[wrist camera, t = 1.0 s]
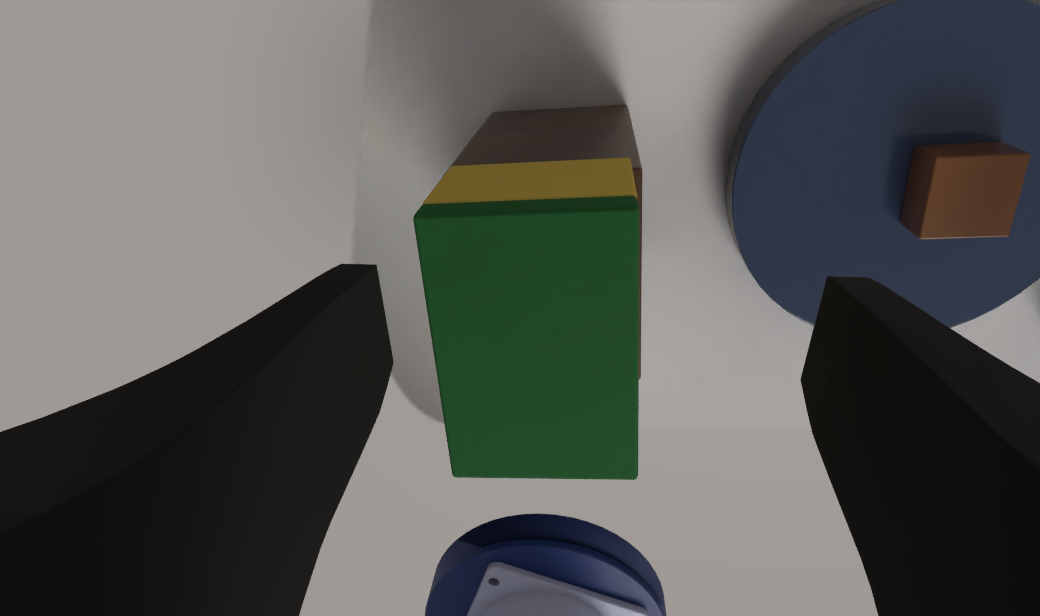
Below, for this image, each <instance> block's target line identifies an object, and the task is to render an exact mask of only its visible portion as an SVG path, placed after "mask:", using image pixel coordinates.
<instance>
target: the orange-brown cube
mask: <svg viewBox="0 0 1040 616" xmlns="http://www.w3.org/2000/svg"><path fill="white" fill-rule="evenodd" d="M1029 159H1030V153H1028V152H1026V151H1023V150H1021V149H1018V148H1016V147H1014V146H1011V145H1009V144H1006V143H1004V142H985V143H964V144H943V145H922V146H915V147H914V151H913V156H912V162H911V167H910V172H909V178H908V183H907V188H906V194H905V199H904V204H903V210H902V215H901V220H900V224H901V225H903V226H904V227H905V228H906V229H907V230H909V231H910V232H911V233H912V234H914V235H915V236H916V237H917V238H918V239H920V240H921V239H954V238H986V237H1008V236H1009V234H1010V230H1011V226H1012V223H1013V219H1014V215H1015V211H1016V208H1017V204H1018V200H1019V196H1020V193H1021V189H1022V185H1023V181H1024V178H1025V174H1026V170H1027V166H1028V163H1029Z"/></svg>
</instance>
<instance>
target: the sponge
mask: <svg viewBox="0 0 1040 616" xmlns="http://www.w3.org/2000/svg"><path fill="white" fill-rule="evenodd" d="M413 220H414V226H415V233H416V240H417V246H418V253H419V259H420V266H421V272H422V279H423V285H424V292H425V298H426V305H427V312H428V318H429V325H430V331H431V338H432V344H433V351H434V357H435V364H436V371H437V377H438V384H439V390H440V397H441V403H442V410H443V416H444V423H445V429H446V436H447V442H448V449H449V455H450V462H451V469H452V474H453V476H454V477H472V478H474V477H476V478H549V479H551V478H552V479H626V480H627V479H628V480H634V479H636V478H637V476H638V369H639V206H638V200H637V193H636V187H635V181H634V176H633V170H632V164H631V160H630V158H608V159H588V160H567V161H546V162H526V163H505V164H484V165H464V166H452V167H450V169H449V170H448V171H447V173H446V174H445V175H444V176H443V178H442V179H441V180H440V182H439V183H438V184H437V185H436V187H435V188H434V189H433V191H432V192H431V193H430V195H429V196H428V197H427V198H426V200H425V201H424V202H423V205H422V206H421V207H420V209H419V210H418V211H417V212H416V214H415V215H414V218H413Z"/></svg>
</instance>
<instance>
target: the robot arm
mask: <svg viewBox="0 0 1040 616" xmlns="http://www.w3.org/2000/svg"><path fill="white" fill-rule="evenodd" d="M392 366H393V357H392V351H391V345H390V340H389V334H388V328H387V322H386V317H385V311H384V305H383V300H382V294H381V288H380V283H379V277H378V271H377V265H365V264H340V265H338V266H336V267H334V268H332V269H330V270H328V271H327V272H325V273H323V274H321V275H320V276H318V277H316V278H315V279H313V280H311V281H310V282H308V283H307V284H305V285H303V286H302V287H300V288H299V289H297V290H296V291H294V292H292V293H291V294H289V295H288V296H286V297H284V298H283V299H281V300H280V301H278V302H276V303H275V304H273V305H272V306H270V307H268V308H267V309H265V310H264V311H262V312H260V313H259V314H257V315H256V316H254V317H253V318H251V319H249V320H247V321H246V322H244V323H243V324H240V325H239V326H237V327H235V328H234V329H232V330H230V331H228V332H227V333H225V334H223V335H221V336H220V337H218V338H216V339H214V340H213V341H211V342H209V343H207V344H206V345H204V346H202V347H200V348H199V349H197V350H195V351H193V352H191V353H189V354H187V355H186V356H184V357H182V358H180V359H178V360H176V361H174V362H172V363H170V364H168V365H166V366H164V367H162V368H160V369H158V370H155V371H153V372H151V373H149V374H147V375H145V376H143V377H140V378H139V379H136V380H134V381H132V382H130V383H127V384H125V385H123V386H121V387H118V388H116V389H114V390H111V391H109V392H106V393H103V394H101V395H99V396H96V397H93V398H91V399H89V400H86V401H83V402H81V403H78V404H76V405H73V406H71V407H68V408H66V409H63V410H60V411H58V412H55V413H53V414H50V415H48V416H45V417H42V418H40V419H37V420H34V421H31V422H28V423H25V424H22V425H19V426H16V427H14V428H11V429H8V430H5V431H2V432H0V616H299V614H300V610H301V607H302V604H303V600H304V597H305V594H306V591H307V588H308V585H309V582H310V579H311V575H312V573H313V569H314V566H315V563H316V560H317V557H318V554H319V551H320V548H321V545H322V543H323V540H324V538H325V535H326V533H327V530H328V528H329V525H330V523H331V520H332V518H333V516H334V514H335V511H336V509H337V507H338V504H339V502H340V500H341V498H342V496H343V493H344V491H345V489H346V487H347V485H348V482H349V480H350V478H351V476H352V474H353V471H354V469H355V467H356V465H357V462H358V460H359V458H360V456H361V454H362V451H363V449H364V447H365V444H366V442H367V440H368V438H369V435H370V433H371V431H372V429H373V426H374V424H375V422H376V419H377V417H378V415H379V412H380V409H381V405H382V402H383V399H384V396H385V392H386V389H387V385H388V381H389V377H390V374H391V370H392ZM801 384H802V388H803V393H804V398H805V403H806V408H807V412H808V416H809V420H810V425H811V429H812V433H813V436H814V439H815V441H816V444H817V447H818V449H819V452H820V454H821V457H822V460H823V462H824V465H825V468H826V470H827V473H828V476H829V478H830V481H831V483H832V486H833V488H834V491H835V494H836V496H837V499H838V501H839V504H840V506H841V509H842V511H843V514H844V516H845V519H846V522H847V524H848V526H849V529H850V532H851V534H852V537H853V539H854V542H855V545H856V547H857V550H858V552H859V555H860V557H861V560H862V563H863V566H864V569H865V572H866V575H867V577H868V580H869V583H870V586H871V590H872V593H873V597H874V601H875V605H876V608H877V612H878V616H1040V383H1038V382H1037V381H1035V380H1033V379H1032V378H1030V377H1028V376H1026V375H1025V374H1023V373H1021V372H1019V371H1018V370H1016V369H1014V368H1012V367H1011V366H1009V365H1007V364H1006V363H1004V362H1003V361H1001V360H999V359H998V358H996V357H994V356H993V355H991V354H990V353H988V352H986V351H985V350H983V349H982V348H980V347H978V346H977V345H975V344H974V343H972V342H970V341H969V340H967V339H966V338H964V337H963V336H961V335H960V334H958V333H957V332H955V331H953V330H952V329H950V328H949V327H947V326H946V325H944V324H943V323H941V322H940V321H938V320H937V319H935V318H934V317H932V316H931V315H929V314H928V313H926V312H924V311H923V310H921V309H920V308H918V307H917V306H915V305H914V304H912V303H911V302H909V301H908V300H906V299H905V298H903V297H901V296H900V295H898V294H897V293H895V292H894V291H892V290H890V289H889V288H887V287H885V286H884V285H882V284H880V283H878V282H877V281H875V280H873V279H871V278H869V277H835V276H827V278H826V282H825V286H824V290H823V294H822V298H821V302H820V306H819V310H818V313H817V317H816V321H815V325H814V329H813V333H812V337H811V341H810V345H809V349H808V353H807V357H806V361H805V365H804V368H803V372H802V376H801ZM492 578H495V579H492ZM467 616H648V613H647V610H646V609H645V608H642V607H640V606H637V605H634V604H631V603H628V602H625V601H621V600H618V599H615V598H612V597H609V596H606V595H602V594H599V593H596V592H593V591H590V590H587V589H584V588H580V587H577V586H574V585H571V584H568V583H565V582H562V581H558V580H555V579H552V578H549V577H546V576H543V575H539V574H536V573H533V572H530V571H527V570H524V569H521V568H517V567H514V566H511V565H508V564H505V563H502V562H492V563H490V564H489V565H488V567H487V569H486V572H485V574H484V576H483V578H482V581H481V583H480V585H479V588H478V590H477V592H476V595H475V597H474V599H473V602H472V604H471V606H470V609H469V611H468V613H467Z"/></svg>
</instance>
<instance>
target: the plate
mask: <svg viewBox="0 0 1040 616" xmlns="http://www.w3.org/2000/svg"><path fill="white" fill-rule="evenodd" d="M985 142H1004V143H1006V144H1009V145H1011V146H1014V147H1016V148H1018V149H1021V150H1023V151H1026V152H1028V153H1030V159H1029V163H1028V166H1027V170H1026V174H1025V178H1024V181H1023V185H1022V189H1021V193H1020V196H1019V200H1018V204H1017V208H1016V211H1015V215H1014V219H1013V223H1012V226H1011V230H1010V234H1009V236H1008V237H986V238H954V239H921V240H920V239H918V238H917V237H916V236H915V235H914V234H912V233H911V232H910V231H909V230H907V229H906V228H905V227H904V226H903V225H901V224H900V220H901V215H902V210H903V204H904V199H905V194H906V188H907V183H908V178H909V172H910V167H911V162H912V156H913V151H914V147H915V146H922V145H943V144H964V143H985ZM726 207H727V214H728V221H729V225H730V228H731V232H732V235H733V238H734V241H735V243H736V246H737V248H738V250H739V252H740V254H741V256H742V258H743V260H744V262H745V264H746V266H747V268H748V270H749V271H750V273H751V274H752V276H753V277H754V279H755V280H756V282H757V283H758V285H759V286H760V287H761V288H762V289H763V290H764V291H765V292H766V293H767V295H768V296H769V297H770V298H771V299H772V300H773V301H775V302H776V303H777V304H778V305H780V306H781V307H782V308H783V309H785V310H786V311H787V312H789V313H790V314H792V315H794V316H795V317H797V318H799V319H801V320H802V321H804V322H806V323H809V324H811V325H813V326H814V325H815V321H816V317H817V313H818V310H819V306H820V302H821V298H822V294H823V290H824V286H825V282H826V278H827V276H835V277H869V278H871V279H873V280H875V281H877V282H878V283H880V284H882V285H884V286H885V287H887V288H889V289H890V290H892V291H894V292H895V293H897V294H898V295H900V296H901V297H903V298H905V299H906V300H908V301H909V302H911V303H912V304H914V305H915V306H917V307H918V308H920V309H921V310H923V311H924V312H926V313H928V314H929V315H931V316H932V317H934V318H935V319H937V320H938V321H940V322H941V323H943V324H944V325H946V326H947V327H949V328H952V327H954V326H957V325H960V324H962V323H965V322H967V321H970V320H973V319H975V318H977V317H979V316H981V315H983V314H985V313H987V312H989V311H991V310H993V309H995V308H997V307H999V306H1000V305H1002V304H1003V303H1005V302H1007V301H1008V300H1010V299H1012V298H1013V297H1015V296H1016V295H1018V294H1019V293H1021V292H1022V291H1023V290H1024V289H1026V288H1027V287H1028V286H1030V285H1031V284H1032V283H1034V282H1035V281H1036V280H1038V279H1039V278H1040V5H1039V4H1037V3H1035V2H1033V1H1031V0H879V1H876V2H874V3H871V4H869V5H866V6H864V7H862V8H859V9H857V10H854V11H852V12H851V13H849V14H847V15H845V16H843V17H841V18H840V19H838V20H836V21H834V22H832V23H830V24H829V25H828V26H826V27H825V28H823V29H822V30H820V31H819V32H818V33H816V34H815V35H813V36H812V37H810V38H809V39H808V40H807V41H805V42H804V43H803V44H802V45H801V46H800V47H799V48H797V49H796V50H795V51H794V52H793V53H792V54H791V55H789V56H788V57H787V58H786V59H785V61H784V62H783V63H782V64H781V65H780V66H779V67H778V68H777V69H776V70H775V72H774V73H773V74H772V75H771V76H770V77H769V79H768V80H767V81H766V83H765V84H764V86H763V87H762V88H761V90H760V91H759V93H758V94H757V95H756V97H755V98H754V100H753V102H752V104H751V106H750V107H749V109H748V111H747V113H746V115H745V116H744V118H743V120H742V123H741V125H740V128H739V130H738V133H737V135H736V138H735V140H734V144H733V147H732V151H731V155H730V159H729V163H728V170H727V178H726Z"/></svg>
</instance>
